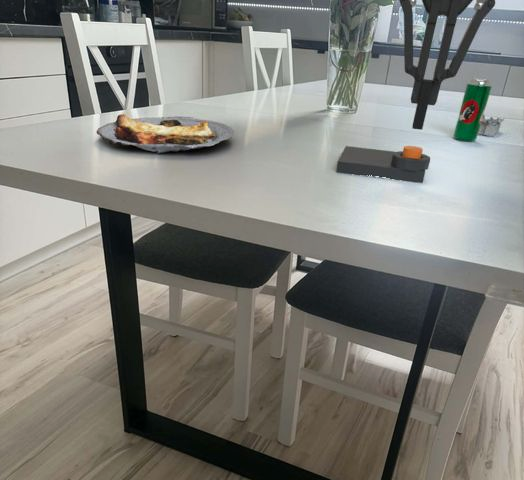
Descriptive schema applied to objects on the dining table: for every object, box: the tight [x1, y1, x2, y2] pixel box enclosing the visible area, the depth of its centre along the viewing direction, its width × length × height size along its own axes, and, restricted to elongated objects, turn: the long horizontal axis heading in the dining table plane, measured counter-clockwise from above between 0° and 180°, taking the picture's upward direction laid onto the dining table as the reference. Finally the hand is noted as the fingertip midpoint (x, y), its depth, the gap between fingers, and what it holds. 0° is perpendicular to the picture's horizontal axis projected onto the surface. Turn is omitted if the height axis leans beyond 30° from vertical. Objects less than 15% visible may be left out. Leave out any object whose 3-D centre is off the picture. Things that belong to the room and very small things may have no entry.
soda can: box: [453, 77, 493, 143], centre depth 106 cm, size 5×5×12 cm
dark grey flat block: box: [335, 145, 431, 184], centre depth 82 cm, size 14×12×4 cm
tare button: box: [402, 145, 423, 159], centre depth 77 cm, size 3×3×2 cm
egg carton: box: [478, 114, 506, 137], centre depth 117 cm, size 11×8×4 cm
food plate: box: [96, 113, 235, 154], centre depth 90 cm, size 25×23×4 cm
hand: (417, 127), depth 75 cm, fingers closed
